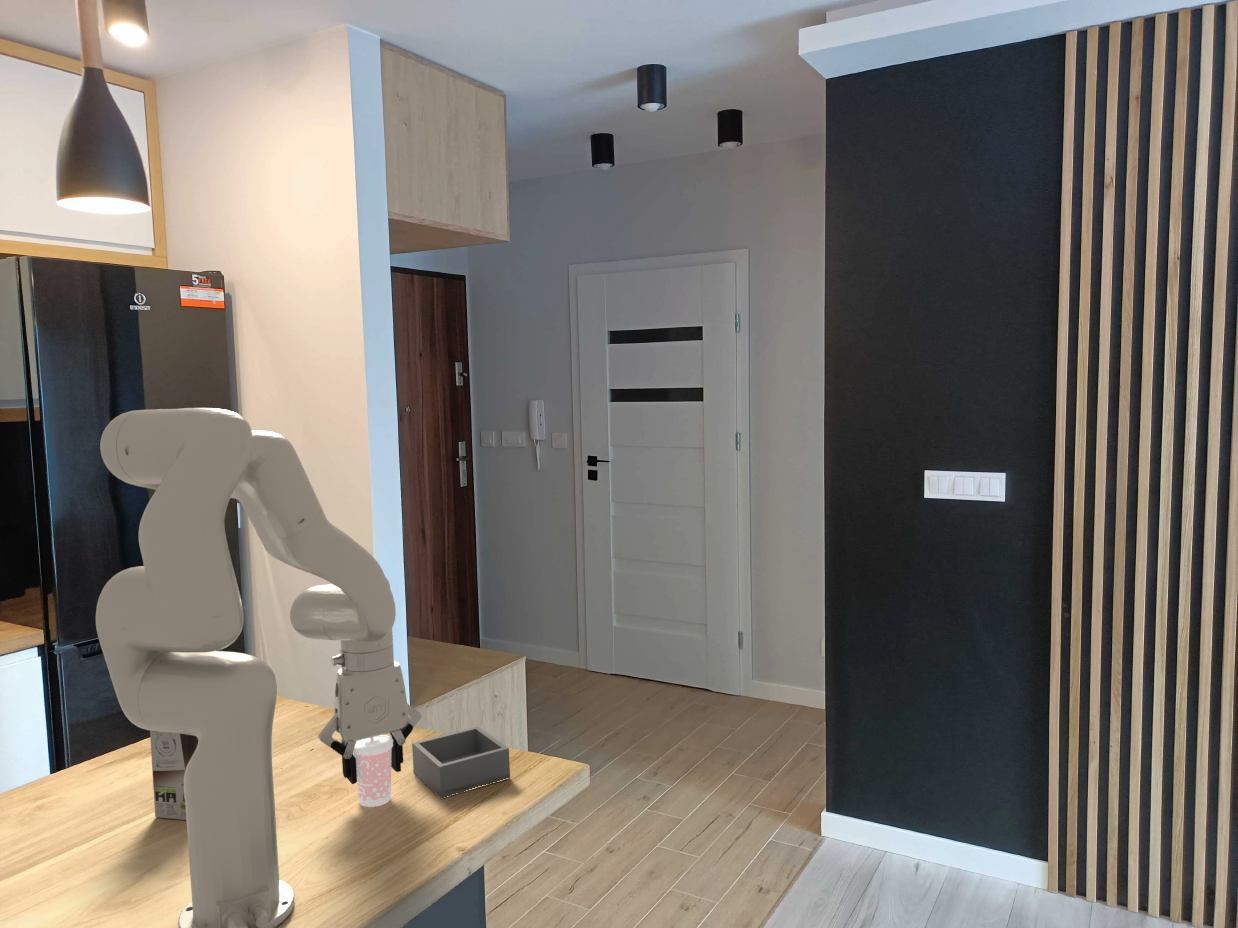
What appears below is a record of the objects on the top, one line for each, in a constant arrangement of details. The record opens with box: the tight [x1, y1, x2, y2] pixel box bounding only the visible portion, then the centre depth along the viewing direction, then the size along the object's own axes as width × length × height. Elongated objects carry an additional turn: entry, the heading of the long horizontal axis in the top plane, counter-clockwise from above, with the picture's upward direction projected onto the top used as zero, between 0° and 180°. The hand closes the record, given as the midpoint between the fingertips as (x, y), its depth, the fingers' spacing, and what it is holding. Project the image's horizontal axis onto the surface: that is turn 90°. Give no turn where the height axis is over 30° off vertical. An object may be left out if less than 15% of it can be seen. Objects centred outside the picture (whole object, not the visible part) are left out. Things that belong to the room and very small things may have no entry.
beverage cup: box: [353, 734, 393, 808], centre depth 133 cm, size 6×6×14 cm
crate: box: [411, 726, 511, 799], centre depth 141 cm, size 12×12×5 cm
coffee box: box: [149, 730, 198, 821], centre depth 133 cm, size 9×6×16 cm
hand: (373, 773), depth 134 cm, fingers closed on beverage cup, 6 cm apart
